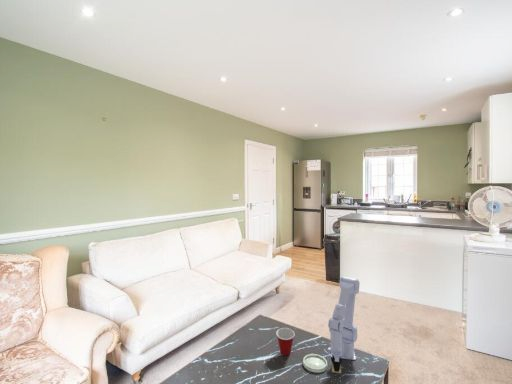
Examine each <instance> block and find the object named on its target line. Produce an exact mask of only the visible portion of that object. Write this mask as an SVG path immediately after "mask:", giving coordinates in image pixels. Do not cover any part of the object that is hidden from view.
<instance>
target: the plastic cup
mask: <svg viewBox="0 0 512 384" xmlns="http://www.w3.org/2000/svg"><path fill="white" fill-rule="evenodd" d="M275 335H276V337H277V340H278V346H279V351H280V354H281V355H282V356H290V355H291V353H292V347H293V341H294V337H295V336H296V334H295V331H294V330H293V329H291V328H289V327H281V328H278V329H277V330H276V332H275Z"/></svg>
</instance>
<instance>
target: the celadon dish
mask: <svg viewBox="0 0 512 384" xmlns="http://www.w3.org/2000/svg"><path fill="white" fill-rule="evenodd" d="M302 359H303V361H302V365H303V368H305V369H306V370H307V371H309V372H311V373H315V374H316V373H317V374H319V373H323V372H325V371H327V369H328V360H327V359H326V358H325V357H324V356H322V355H320V354H315V353H310V354H306V355H305V356H304V357H303V358H302Z"/></svg>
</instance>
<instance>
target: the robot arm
mask: <svg viewBox="0 0 512 384" xmlns="http://www.w3.org/2000/svg"><path fill="white" fill-rule="evenodd" d="M339 278H340V279H339V287H340V293H339V298H338V303H337V304H335V306H334V308H333V312H332V316H331V317H330V318H329V320H328V324H327V325H328V329H329V335H330V337H329V338H330V342H329V343H330V347H328V348H327V350H328V351H329V352H330V353H331V354H332V356H330V360H331V364H332V363H333V366H334V371H335V372H339V369H340V365H341V366H342V363H343V359H344V360H350V361H351V360H352V361H356V359H357V358H356V354H355V343H356V342H357V340H358V328H357V326H356V325H355V324H354V322H353V321H354V315H355V314H354V313H355V312H354V311H355V305H356V303H355V302H356V295H358V294H359V292H360V281H359V279H358V278H354V277H353V278H352V277H347V276H344V275H341V277H339ZM335 372H334V373H335Z"/></svg>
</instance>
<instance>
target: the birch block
mask: <svg viewBox="0 0 512 384" xmlns="http://www.w3.org/2000/svg"><path fill="white" fill-rule="evenodd" d="M331 372H332V373H336V374H341V373H342V364H341V365H340V369H339V372H335V371H334V366H333V363H332V362H331Z"/></svg>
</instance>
